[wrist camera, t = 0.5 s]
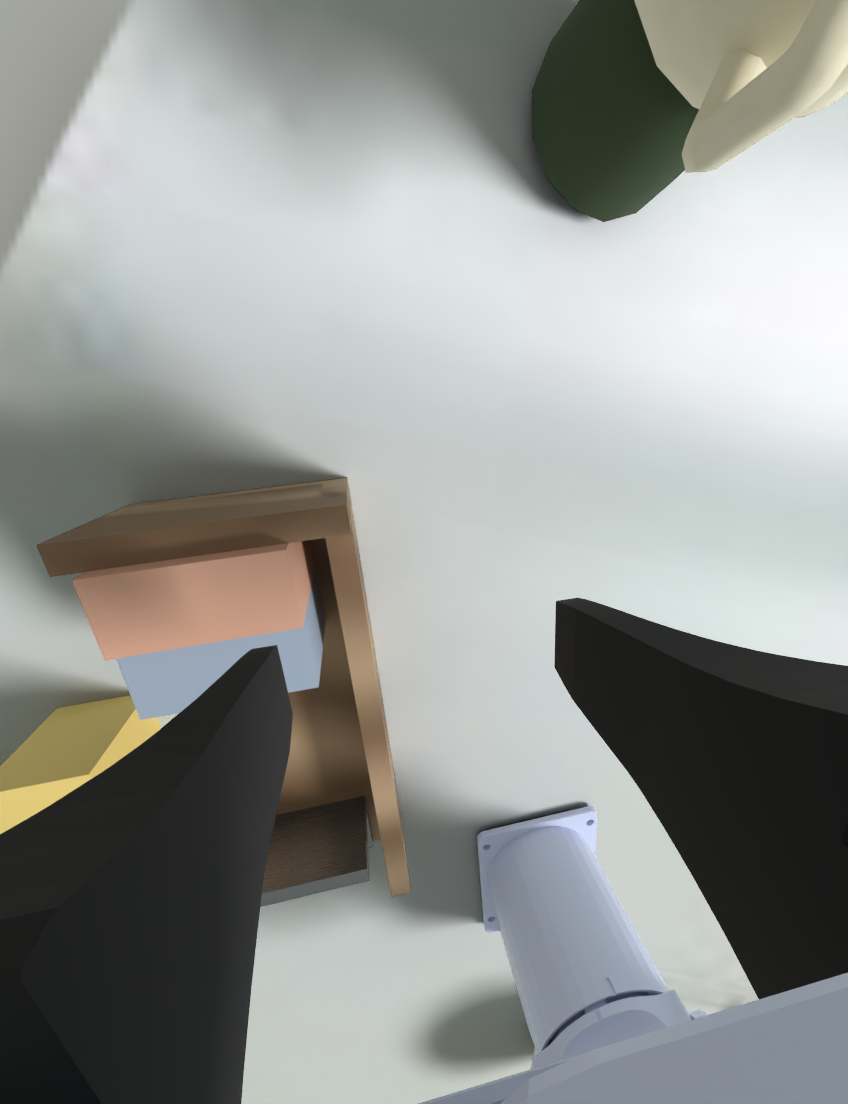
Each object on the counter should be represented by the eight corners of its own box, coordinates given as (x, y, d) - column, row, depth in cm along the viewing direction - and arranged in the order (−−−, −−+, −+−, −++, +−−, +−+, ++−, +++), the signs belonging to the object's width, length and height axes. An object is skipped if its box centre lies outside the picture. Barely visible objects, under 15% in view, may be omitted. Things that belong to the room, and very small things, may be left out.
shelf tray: (401, 822, 26) (415, 927, 20) (248, 857, 25) (221, 978, 19) (347, 477, 19) (346, 504, 13) (129, 504, 18) (36, 545, 12)
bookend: (372, 841, 25) (377, 918, 21) (260, 867, 24) (244, 952, 20) (364, 795, 24) (366, 868, 20) (245, 821, 23) (224, 902, 19)
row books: (325, 621, 20) (317, 696, 15) (191, 643, 19) (133, 730, 14) (303, 509, 18) (285, 550, 13) (154, 529, 17) (72, 580, 12)
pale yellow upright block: (148, 691, 20) (89, 774, 16) (184, 786, 23) (141, 884, 18) (58, 707, 20) (-31, 797, 15) (103, 802, 22) (37, 908, 17)
